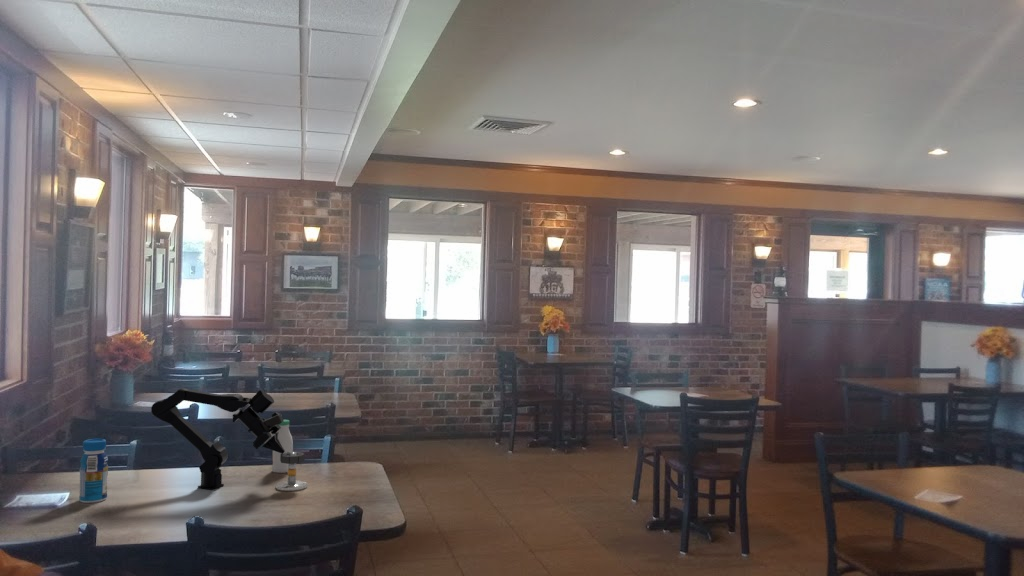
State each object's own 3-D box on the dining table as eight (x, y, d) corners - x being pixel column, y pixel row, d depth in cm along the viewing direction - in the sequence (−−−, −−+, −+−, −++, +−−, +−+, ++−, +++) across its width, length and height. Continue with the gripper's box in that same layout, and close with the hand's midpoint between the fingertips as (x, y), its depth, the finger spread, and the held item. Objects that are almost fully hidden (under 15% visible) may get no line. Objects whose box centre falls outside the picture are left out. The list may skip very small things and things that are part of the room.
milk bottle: (296, 470, 295) (297, 420, 295) (281, 474, 288) (282, 422, 288) (283, 467, 299) (284, 418, 299) (267, 471, 292) (269, 420, 292)
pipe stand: (269, 489, 267) (270, 454, 267) (288, 481, 277) (289, 448, 277) (294, 492, 263) (295, 457, 263) (313, 485, 274) (314, 451, 274)
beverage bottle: (72, 501, 246) (74, 441, 246) (94, 495, 254) (96, 436, 254) (91, 504, 244) (93, 443, 244) (113, 498, 252) (114, 439, 252)
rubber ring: (276, 462, 268) (276, 455, 268) (290, 457, 275) (290, 451, 275) (294, 464, 265) (294, 457, 265) (308, 459, 273) (308, 453, 273)
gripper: (263, 410, 260) (294, 442, 261) (275, 402, 279) (305, 432, 280) (239, 432, 260) (271, 464, 261) (253, 423, 278) (283, 452, 279)
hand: (283, 452), depth 270 cm, fingers closed
